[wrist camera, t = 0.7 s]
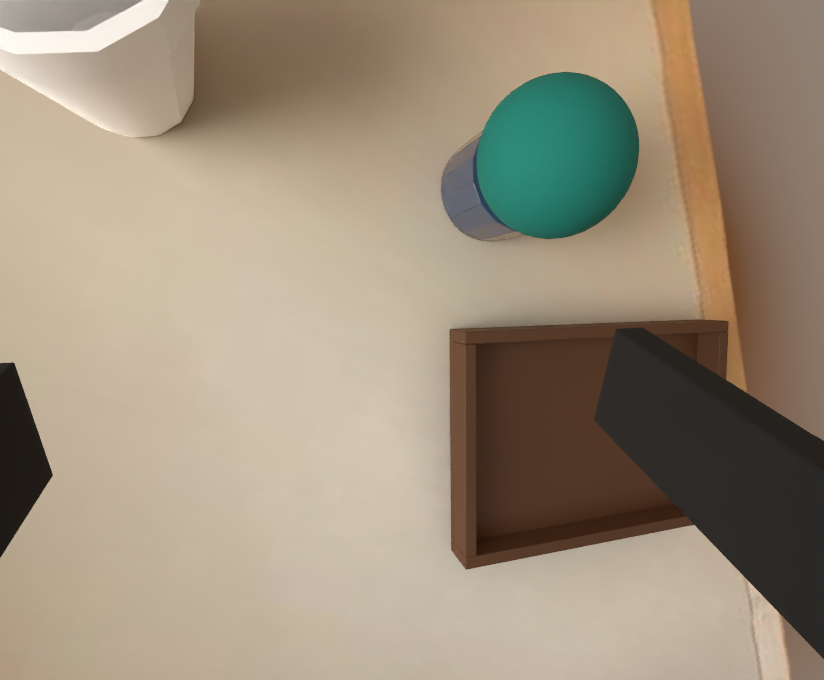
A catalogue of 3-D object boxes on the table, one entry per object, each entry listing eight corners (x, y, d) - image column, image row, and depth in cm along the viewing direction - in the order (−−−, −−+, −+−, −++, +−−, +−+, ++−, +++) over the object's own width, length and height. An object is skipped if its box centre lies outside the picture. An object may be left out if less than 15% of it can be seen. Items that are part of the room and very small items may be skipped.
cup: (529, 241, 34) (573, 232, 29) (441, 240, 32) (472, 230, 27) (530, 144, 33) (575, 119, 29) (440, 136, 31) (472, 108, 27)
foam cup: (83, -58, 25) (-91, -407, 13) (253, 55, 28) (247, -139, 15) (-10, 101, 24) (-290, -100, 12) (173, 200, 27) (100, 120, 15)
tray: (691, 506, 41) (719, 519, 38) (451, 550, 34) (465, 569, 32) (699, 319, 39) (729, 321, 37) (449, 329, 33) (464, 331, 30)
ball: (571, 246, 31) (675, 230, 23) (453, 244, 28) (525, 225, 21) (573, 114, 30) (681, 52, 22) (452, 101, 27) (526, 26, 20)
